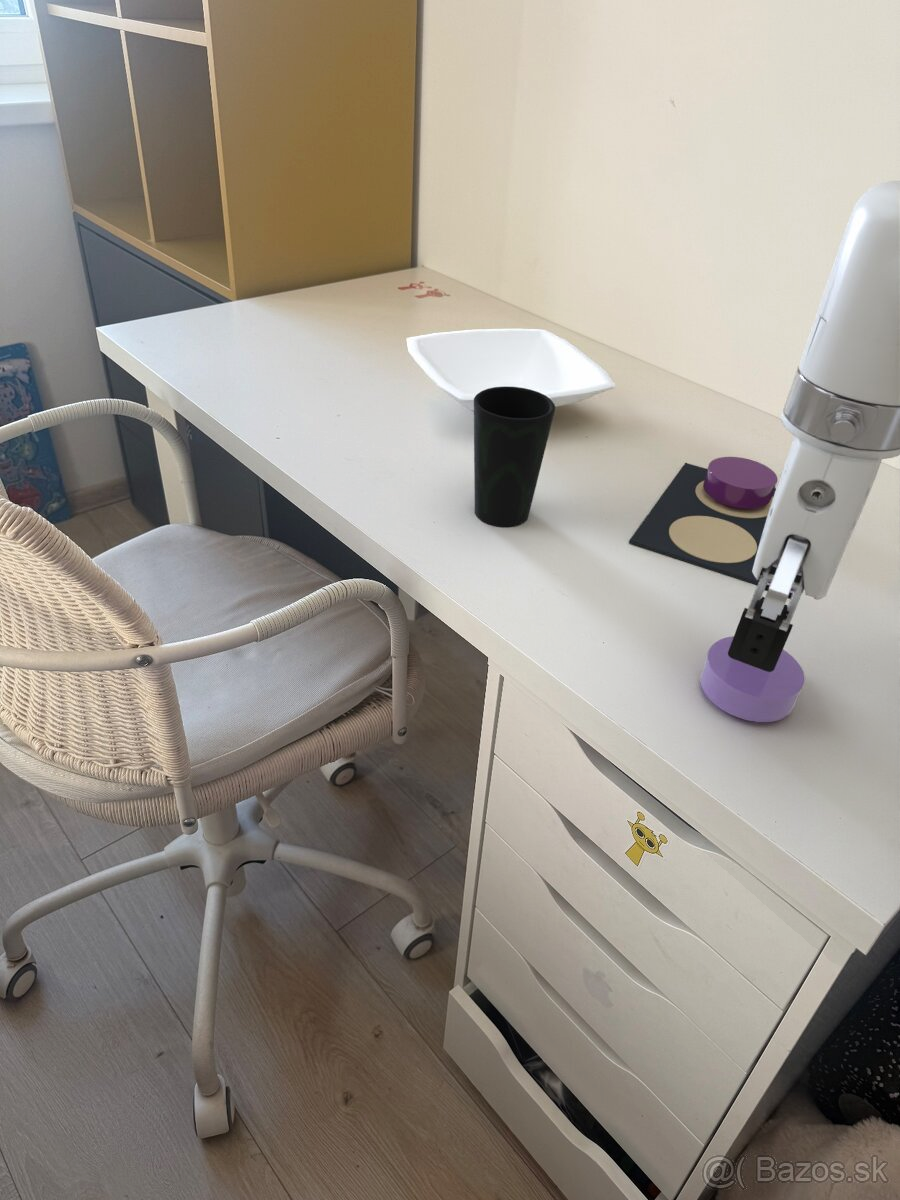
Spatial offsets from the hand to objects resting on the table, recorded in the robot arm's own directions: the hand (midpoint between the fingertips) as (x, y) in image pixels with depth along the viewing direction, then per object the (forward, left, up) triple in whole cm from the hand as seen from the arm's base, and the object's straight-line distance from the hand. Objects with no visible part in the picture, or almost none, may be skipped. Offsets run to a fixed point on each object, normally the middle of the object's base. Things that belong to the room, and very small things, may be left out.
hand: (764, 625), depth 61 cm
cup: (+28, -14, -7) cm, 32 cm away
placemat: (+8, -26, -7) cm, 28 cm away
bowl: (+40, -39, -7) cm, 56 cm away
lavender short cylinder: (0, 0, -7) cm, 7 cm away
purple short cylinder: (+8, -31, -6) cm, 32 cm away
